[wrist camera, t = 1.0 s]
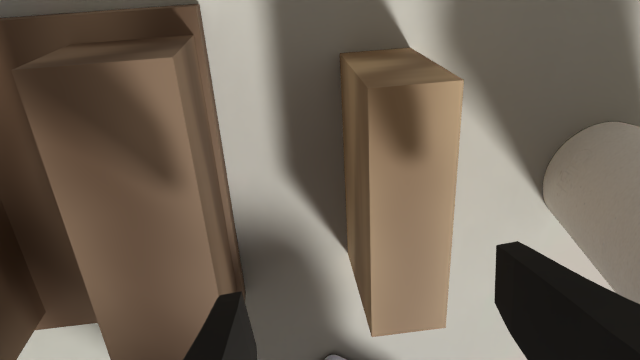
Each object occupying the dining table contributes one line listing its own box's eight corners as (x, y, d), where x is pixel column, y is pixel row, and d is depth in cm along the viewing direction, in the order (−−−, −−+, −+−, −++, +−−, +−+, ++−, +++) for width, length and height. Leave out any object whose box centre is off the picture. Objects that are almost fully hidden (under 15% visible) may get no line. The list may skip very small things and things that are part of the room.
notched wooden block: (199, 3, 18) (171, 22, 13) (245, 292, 24) (240, 388, 19) (-248, 35, 17) (-487, 71, 12) (-82, 330, 23) (-188, 444, 18)
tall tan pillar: (409, 47, 20) (463, 80, 14) (405, 245, 24) (445, 327, 19) (339, 52, 20) (367, 88, 14) (347, 251, 24) (371, 336, 19)
